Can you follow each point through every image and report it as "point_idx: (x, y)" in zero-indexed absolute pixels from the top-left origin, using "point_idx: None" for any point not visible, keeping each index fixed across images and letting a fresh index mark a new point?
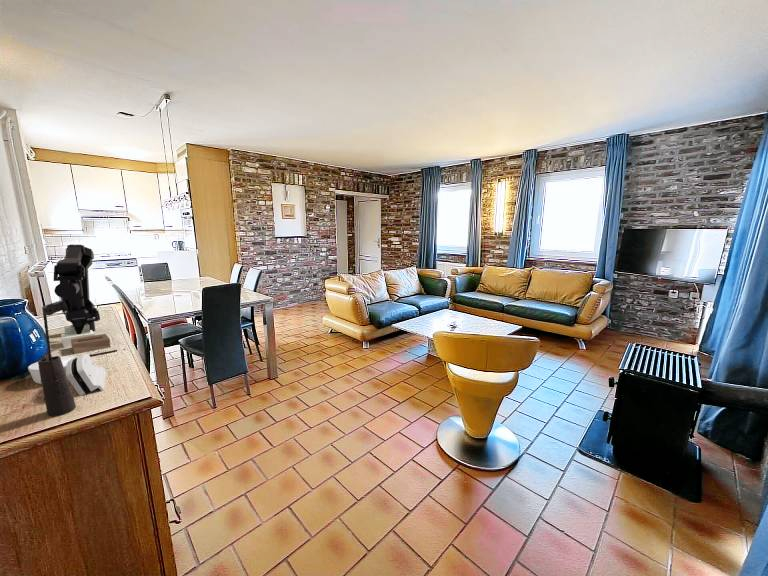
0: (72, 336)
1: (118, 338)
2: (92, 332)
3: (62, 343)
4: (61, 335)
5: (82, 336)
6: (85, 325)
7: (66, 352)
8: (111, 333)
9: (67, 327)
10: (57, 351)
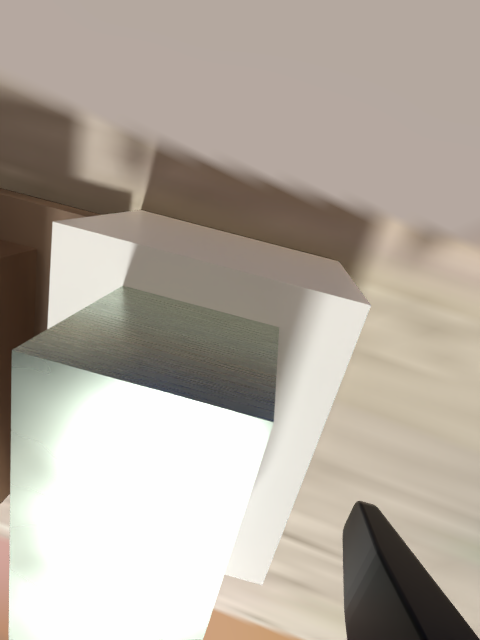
0: None
1: None
2: None
3: (318, 263)
4: (292, 284)
5: None
6: (15, 622)
7: (70, 203)
8: None
9: (84, 420)
10: (181, 162)
